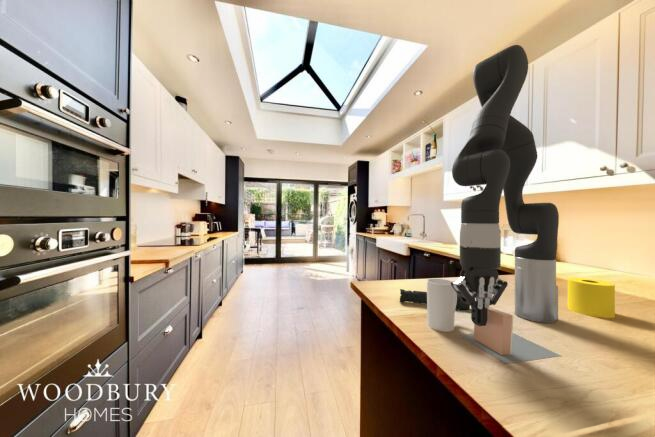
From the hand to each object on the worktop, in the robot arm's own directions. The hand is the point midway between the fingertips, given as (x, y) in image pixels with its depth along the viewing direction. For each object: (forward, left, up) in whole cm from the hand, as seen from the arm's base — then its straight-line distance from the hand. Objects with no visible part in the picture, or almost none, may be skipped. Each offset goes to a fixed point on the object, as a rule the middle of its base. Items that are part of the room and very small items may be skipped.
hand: (479, 324), depth 53 cm
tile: (-3, 0, -5) cm, 6 cm away
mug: (-1, -12, -6) cm, 13 cm away
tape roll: (-53, -12, -6) cm, 55 cm away
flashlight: (-8, -26, -6) cm, 28 cm away
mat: (-7, 0, -5) cm, 9 cm away
